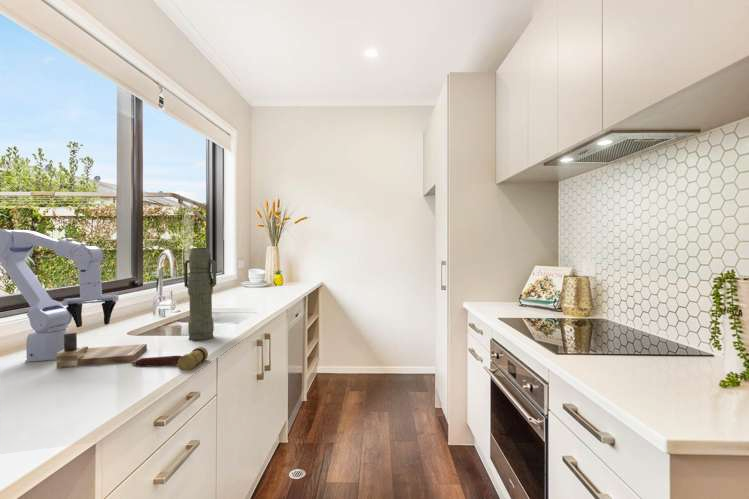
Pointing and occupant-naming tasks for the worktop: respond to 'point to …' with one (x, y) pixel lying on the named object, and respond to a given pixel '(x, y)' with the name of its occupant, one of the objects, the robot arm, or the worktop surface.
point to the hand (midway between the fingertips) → (93, 325)
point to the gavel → (176, 360)
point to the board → (111, 354)
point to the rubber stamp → (70, 351)
